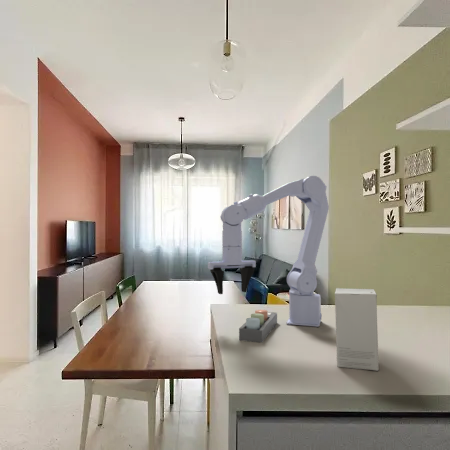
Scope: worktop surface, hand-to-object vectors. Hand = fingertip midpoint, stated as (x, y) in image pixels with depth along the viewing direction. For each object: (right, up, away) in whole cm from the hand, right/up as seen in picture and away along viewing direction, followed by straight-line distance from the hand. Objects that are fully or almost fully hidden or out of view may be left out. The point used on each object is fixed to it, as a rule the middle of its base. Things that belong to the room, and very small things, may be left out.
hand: (232, 292), depth 105 cm
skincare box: (+25, -10, -30) cm, 40 cm away
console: (+8, -10, -5) cm, 13 cm away
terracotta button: (+8, -8, -3) cm, 12 cm away
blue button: (+5, -8, -12) cm, 15 cm away
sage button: (+7, -8, -8) cm, 13 cm away
